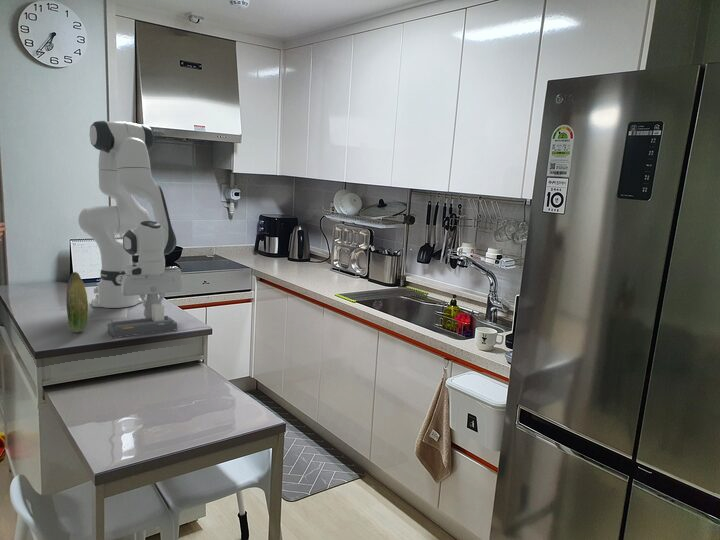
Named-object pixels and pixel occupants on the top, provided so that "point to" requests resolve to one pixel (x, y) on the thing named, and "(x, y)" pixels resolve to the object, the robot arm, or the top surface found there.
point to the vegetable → (76, 303)
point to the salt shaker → (150, 302)
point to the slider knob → (157, 312)
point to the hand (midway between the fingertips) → (152, 305)
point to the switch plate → (140, 326)
